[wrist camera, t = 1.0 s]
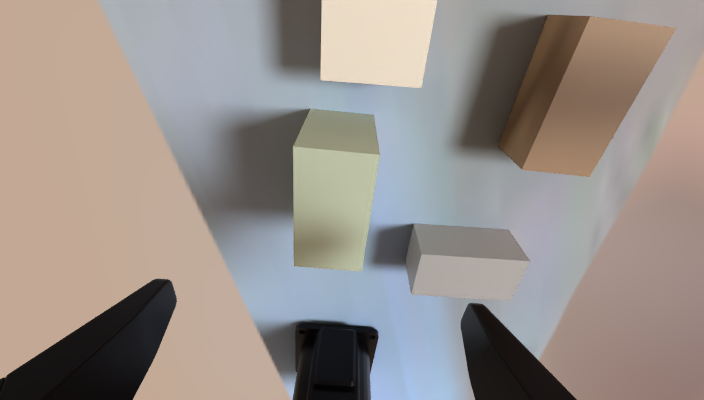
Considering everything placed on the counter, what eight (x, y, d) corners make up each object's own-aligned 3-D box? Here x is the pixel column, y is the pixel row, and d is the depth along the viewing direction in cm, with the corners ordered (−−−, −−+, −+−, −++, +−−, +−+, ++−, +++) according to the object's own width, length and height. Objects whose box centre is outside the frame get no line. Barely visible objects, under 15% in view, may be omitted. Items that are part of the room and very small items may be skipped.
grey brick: (507, 228, 19) (530, 261, 17) (491, 265, 21) (510, 300, 19) (413, 221, 19) (421, 254, 17) (404, 259, 21) (411, 294, 18)
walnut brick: (553, 150, 17) (589, 176, 14) (496, 144, 17) (521, 169, 14) (616, 23, 14) (676, 27, 11) (545, 14, 13) (590, 16, 11)
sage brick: (360, 211, 19) (361, 271, 15) (308, 207, 19) (294, 266, 14) (373, 114, 16) (379, 154, 11) (310, 108, 16) (292, 146, 11)
